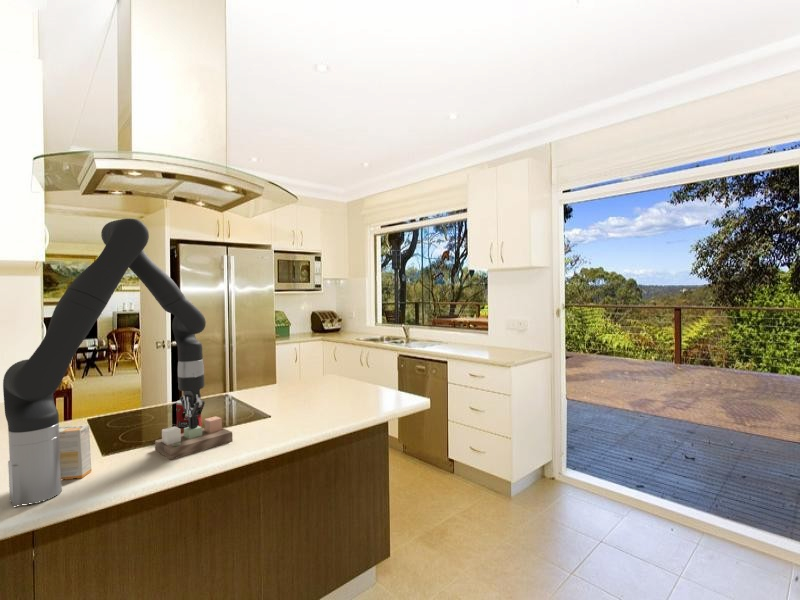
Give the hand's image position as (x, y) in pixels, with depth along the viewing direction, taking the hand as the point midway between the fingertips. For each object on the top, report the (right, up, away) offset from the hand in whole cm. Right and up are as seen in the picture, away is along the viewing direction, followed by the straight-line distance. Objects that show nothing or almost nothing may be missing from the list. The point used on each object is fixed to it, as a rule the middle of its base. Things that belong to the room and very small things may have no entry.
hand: (193, 427), depth 134 cm
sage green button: (0, -4, 0) cm, 4 cm away
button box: (+1, -6, -1) cm, 6 cm away
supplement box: (-22, -7, -21) cm, 32 cm away
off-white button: (-4, -3, -5) cm, 7 cm away
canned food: (-8, -6, +14) cm, 17 cm away
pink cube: (+4, -3, +5) cm, 7 cm away
